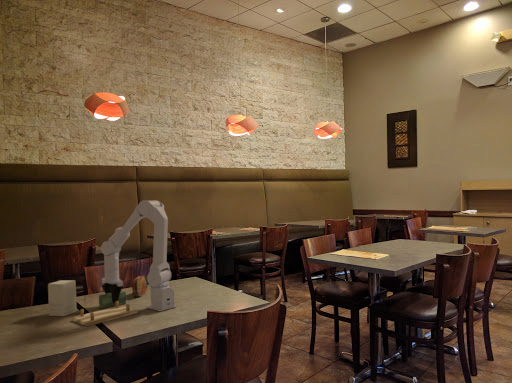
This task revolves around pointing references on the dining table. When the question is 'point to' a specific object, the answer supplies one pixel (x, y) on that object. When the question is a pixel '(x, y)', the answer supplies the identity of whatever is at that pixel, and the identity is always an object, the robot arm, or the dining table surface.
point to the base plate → (104, 314)
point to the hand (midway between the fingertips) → (112, 301)
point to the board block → (107, 302)
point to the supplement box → (62, 297)
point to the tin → (139, 286)
